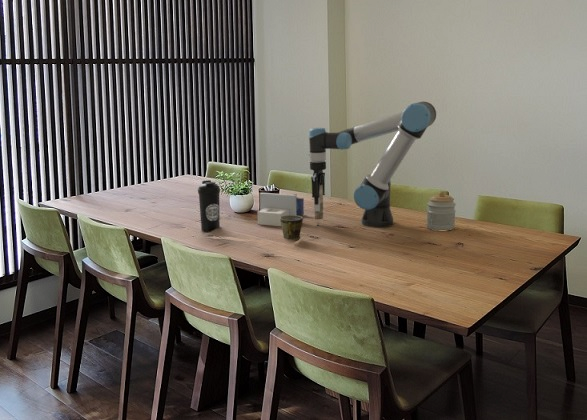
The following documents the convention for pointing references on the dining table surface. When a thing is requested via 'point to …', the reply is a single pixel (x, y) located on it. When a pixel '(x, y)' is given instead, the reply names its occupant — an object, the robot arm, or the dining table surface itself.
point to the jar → (441, 212)
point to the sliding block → (271, 216)
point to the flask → (299, 206)
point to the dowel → (320, 213)
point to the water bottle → (209, 205)
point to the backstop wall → (278, 202)
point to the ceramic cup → (291, 226)
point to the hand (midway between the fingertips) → (318, 209)
